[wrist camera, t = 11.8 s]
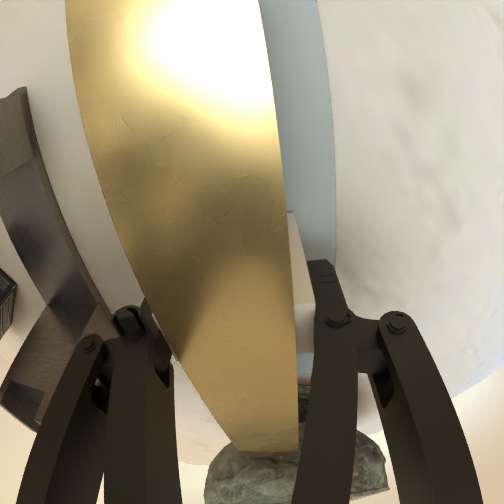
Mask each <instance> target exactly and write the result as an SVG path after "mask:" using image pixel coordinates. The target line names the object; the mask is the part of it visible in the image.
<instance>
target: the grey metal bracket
mask: <svg viewBox="0 0 504 504" xmlns="http://www.w3.org/2000/svg"><path fill="white" fill-rule="evenodd" d="M0 216H1V218H2V220H3V223H4V225H5V227H6V230H7V232H8V234H9V236H10V239H11V241H12V243H13V245H14V247H15V249H16V251H17V253H18V255H19V257H20V259H21V261H22V263H23V264H24V266H25V268H26V270H27V272H28V274H29V275H30V277H31V279H32V281H33V282H34V284H35V286H36V287H37V289H38V291H39V292H40V294H41V296H42V297H43V299H44V300H45V302H46V304H47V306H46V308H45V309H44V311H43V312H42V314H41V315H40V317H39V318H38V320H37V322H36V323H35V325H34V326H33V328H32V330H31V331H30V333H29V335H28V336H27V338H26V340H25V341H24V343H23V345H22V347H21V348H20V350H19V352H18V354H17V356H16V357H15V359H14V361H13V363H12V365H11V367H10V369H9V371H8V373H7V375H6V377H5V379H4V381H3V383H2V385H1V387H0V406H1V407H3V408H4V409H5V410H6V411H7V412H8V413H10V414H11V415H12V416H13V417H15V418H16V419H17V420H18V421H20V422H21V423H22V424H24V425H25V426H26V427H28V428H29V429H30V430H32V431H34V432H36V433H37V432H38V430H39V427H40V425H41V422H42V420H43V417H44V415H45V412H46V410H47V407H48V405H49V403H50V400H51V398H52V396H53V394H54V391H55V389H56V387H57V385H58V383H59V380H60V378H61V376H62V374H63V372H64V370H65V368H66V366H67V364H68V362H69V360H70V358H71V356H72V354H73V352H74V350H75V348H76V346H77V344H78V343H79V341H80V340H81V339H82V338H84V337H85V336H87V335H89V334H98V335H100V336H101V337H102V339H103V340H104V341H105V340H109V339H112V338H116V337H119V334H118V333H117V331H116V329H115V328H114V326H113V325H112V323H111V322H110V319H111V317H112V315H111V314H110V312H109V310H108V309H107V307H106V305H105V303H104V302H103V300H102V298H101V296H100V294H99V293H98V291H97V289H96V287H95V285H94V283H93V282H92V280H91V278H90V276H89V274H88V272H87V270H86V268H85V266H84V264H83V262H82V260H81V258H80V256H79V254H78V252H77V249H76V247H75V245H74V243H73V241H72V239H71V236H70V234H69V232H68V229H67V227H66V225H65V222H64V220H63V217H62V215H61V212H60V210H59V207H58V205H57V202H56V199H55V197H54V194H53V191H52V188H51V185H50V183H49V180H48V177H47V174H46V170H45V167H44V164H43V161H42V157H41V154H40V150H39V147H38V143H37V139H36V135H35V131H34V127H33V123H32V118H31V114H30V109H29V103H28V98H27V92H26V87H21V88H18V89H16V90H15V91H14V92H12V93H11V94H10V95H9V96H7V97H6V98H2V99H0ZM98 383H99V380H98V379H97V380H96V382H95V385H96V386H97V385H98Z"/></svg>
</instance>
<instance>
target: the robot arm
mask: <svg viewBox="0 0 504 504" xmlns="http://www.w3.org/2000/svg"><path fill="white" fill-rule="evenodd" d="M287 221H288V233H289V244H290V257H291V270H292V284H293V300H294V317H295V336H296V355H299V354H308V353H314V358H313V368H312V377H311V385H310V394H309V401H308V409H307V416H306V423H305V429H304V436H303V442H302V448H301V454H300V459H299V465H298V470H297V476H296V481H295V486H294V490H293V495H292V500H291V504H349V500H350V493H351V485H352V477H353V467H354V457H355V444H356V427H357V398H358V372H359V373H367V375H368V378H369V381H370V384H371V388H372V391H373V394H374V398H375V401H376V405H377V408H378V412H379V415H380V419H381V422H382V426H383V430H384V434H385V438H386V441H387V445H388V449H389V454H390V457H391V462H392V466H393V471H394V475H395V480H396V485H397V490H398V494H399V500H400V504H483V500H482V496H481V491H480V487H479V483H478V478H477V475H476V471H475V467H474V464H473V460H472V457H471V454H470V451H469V447H468V444H467V442H466V439H465V436H464V433H463V430H462V427H461V424H460V421H459V419H458V416H457V414H456V411H455V408H454V406H453V404H452V401H451V398H450V396H449V394H448V391H447V389H446V387H445V384H444V382H443V380H442V377H441V375H440V373H439V371H438V369H437V366H436V364H435V362H434V360H433V358H432V356H431V354H430V352H429V350H428V348H427V346H426V344H425V342H424V340H423V338H422V336H421V334H420V332H419V330H418V328H417V326H416V324H415V322H414V321H413V320H412V318H411V317H410V316H409V315H407V314H405V313H403V312H399V311H390V312H388V313H385V314H384V315H383V316H382V317H381V318H380V320H371V319H364V318H361V317H358V316H356V315H355V314H354V313H353V312H352V311H351V310H350V309H349V308H348V306H347V304H346V301H345V298H344V295H343V292H342V289H341V286H340V283H339V281H338V277H337V275H336V272H335V269H334V266H333V265H332V264H331V263H330V262H329V261H328V260H327V259H321V260H312V261H306V259H305V255H304V251H303V247H302V243H301V239H300V235H299V231H298V227H297V223H296V220H295V216H294V212H293V213H287ZM110 322H111V323H112V325H113V326H114V328H115V329H116V331H117V333H118V334H119V337H116V338H112V339H109V340H105V341H104V340H103V339H102V337H101V336H100V335H98V334H89V335H87V336H85V337H84V338H82V339H81V340H80V341H79V343H78V344H77V346H76V348H75V350H74V352H73V354H72V356H71V358H70V360H69V362H68V364H67V366H66V368H65V370H64V372H63V374H62V376H61V378H60V380H59V383H58V385H57V387H56V389H55V391H54V394H53V396H52V398H51V400H50V403H49V405H48V407H47V410H46V412H45V415H44V417H43V420H42V422H41V425H40V427H39V430H38V432H37V435H36V438H35V441H34V443H33V446H32V449H31V452H30V455H29V458H28V461H27V465H26V468H25V471H24V475H23V478H22V482H21V485H20V489H19V493H18V497H17V502H16V504H96V502H97V498H98V493H99V489H100V485H101V481H102V477H103V473H104V504H182V497H181V487H180V479H179V469H178V457H177V444H176V428H175V407H174V369H173V365H172V364H171V362H170V360H171V355H172V354H173V355H174V357H175V359H176V361H179V360H178V359H177V357H176V355H175V353H174V352H173V350H172V348H171V346H170V344H169V342H168V341H167V339H166V337H165V335H164V333H163V331H162V329H161V328H160V326H159V324H158V322H157V320H156V318H155V316H154V314H153V312H152V310H151V308H150V306H149V304H148V302H147V300H146V298H144V300H143V302H142V305H141V307H140V308H139V307H137V306H134V305H128V306H125V307H122V308H120V309H119V310H117V311H116V312H115V313H114V314H113V315H112V317H111V319H110ZM97 379H98V380H99V383H98V385H97V386H96V385H95V382H96V380H97Z"/></svg>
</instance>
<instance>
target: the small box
mask: <svg viewBox="0 0 504 504" xmlns="http://www.w3.org/2000/svg"><path fill="white" fill-rule="evenodd" d="M16 287H17V285H16V284H15V283H14V282H13V281H12V280H11V279H10V278H9V277H7V276H6V275H5V274H4V273H3V272H2V271H1V270H0V340H1V338H2V337H3V335H4V334H5V332H6V331H7V330H8V328H9V327H10V325H11V324H12V317H13V308H14V300H15V293H16Z"/></svg>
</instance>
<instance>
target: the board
mask: <svg viewBox="0 0 504 504" xmlns="http://www.w3.org/2000/svg"><path fill="white" fill-rule="evenodd" d="M258 5H259V10H260V16H261V22H262V27H263V33H264V39H265V45H266V51H267V58H268V64H269V71H270V77H271V84H272V91H273V98H274V106H275V113H276V121H277V129H278V137H279V145H280V153H281V162H282V171H283V180H284V190H285V200H286V210H287V213H293V212H294V216H295V220H296V223H297V227H298V231H299V235H300V239H301V243H302V247H303V251H304V255H305V259H306V261H312V260H321V259H327V260H328V261H329V262H330V263H331V264H332V265H333V266H334V269H335V252H336V177H335V152H334V135H333V121H332V109H331V98H330V88H329V79H328V71H327V63H326V56H325V49H324V42H323V36H322V30H321V24H320V18H319V13H318V8H317V3H316V0H258ZM296 358H297V375H298V374H307V373H312V368H313V358H314V353H308V354H299V355H296Z"/></svg>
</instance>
